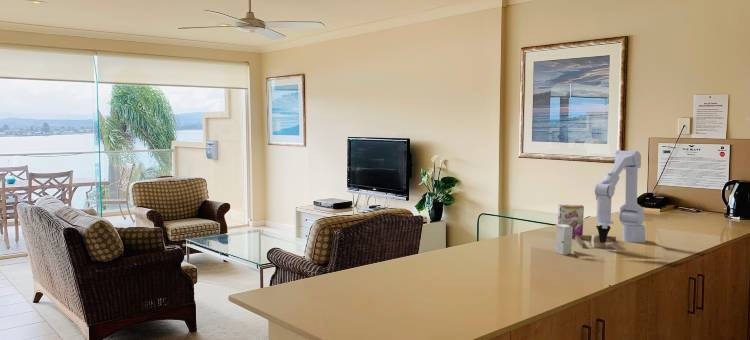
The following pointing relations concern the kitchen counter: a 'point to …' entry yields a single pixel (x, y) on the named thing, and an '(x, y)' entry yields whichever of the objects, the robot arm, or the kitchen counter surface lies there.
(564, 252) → the skincare box
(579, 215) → the candy bar box
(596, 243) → the block
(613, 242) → the board
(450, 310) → the kitchen counter surface
